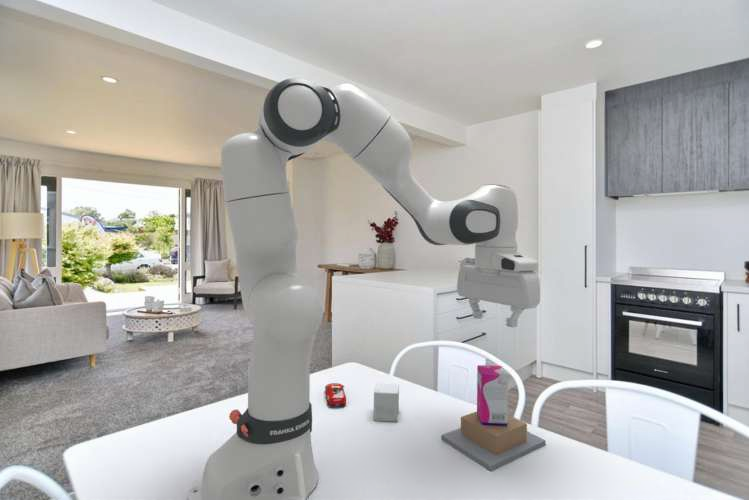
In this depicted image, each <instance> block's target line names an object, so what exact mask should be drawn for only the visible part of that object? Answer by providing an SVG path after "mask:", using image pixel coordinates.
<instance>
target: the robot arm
mask: <svg viewBox="0 0 749 500" xmlns="http://www.w3.org/2000/svg"><path fill="white" fill-rule="evenodd" d="M261 106H262V107H261V109H260V114H259V119H258V123H257V128H255V130H252V131H251V132H243V133H240V134H236V135H234V136H232V137H230V138H229V139H227V140H226V141H225V142H224V143H223V146H222V148H221V149H220V150H221V152H220V155H221V156H220V166H221V167H220V169H221V170H220V171H221V182H222V183H221V184H222V189H223V195H224V201H225V206H226V211H227V216H228V221H229V226H230V230H231V235H232V239H233V244H234V245H233V246H234V249H235V250H234V251H235V258H236V259H235V260H236V269H237V275H238V277H237V278H238V283H239V284H238V285H239V289H240V295H241V301H242V308H243V310H244V312H245V314H246V315H247V317H248V318H249V319H250V320H251V322H252V323H251V324H252V341H251V342H252V343H251V352H250V358H249V363H248V367H247V408H246V409H245V410H244V412H243V413H241V411H239V409H233V410H231V411H230V413H229V415H228V418H229V420H230V421H231V423H232V424H233V425H236V432H235V433H234V434H233V435H232V436H230V438H228V439H227V440H226V441H225V442H224V443H223V444H222V445H221V446H220V447H219V448H217V449H216V450H215V451H214V452H213V453H212V454H210V455H209V456H208V459H207V460H206V462H205V466H204V470H203V473H202V478H200V479H198V480H196V481H195V482H194V483H193V484H192V486H191V488H190V490H189V492H188V497H187V500H307V498H308V496H309V495H310V494H311V493H312V492H313V491H314V490H315V488H316V486H317V484H318V482H319V472H318V470H317V468H316V464H315V459H314V453H313V447H312V439H311V438H312V436H311V433H312V432H313V431H312V430H313V407H312V403H311V401H310V397H311V396H310V393H311V392H310V390H311V389H310V388H311V387H310V386H311V384H310V383H311V381H310V379H311V377H310V370H311V360H312V353H313V349H314V343H315V338H316V335H317V334H316V333H317V332H318V330H319V328H320V326H321V324H322V321H323V318H324V307H323V303H322V300H321V298H320V297H319V295H318V293H317V291H315V288H314V287H312V285H311V284H310V283H309V282H307V281H305V280H303V279H301V278H299V276H298V272H297V271H298V270H297V242H298V231H297V226H296V224H297V223H296V220H295V214H294V210H293V203H292V199H291V194H290V193H291V192H290V188H289V183H288V179H287V163H288V161H291V160H294V159H296V158H298V157H300V156H303V154H305V153H306V152H308V151H310V150H311V149H314V147H315V146H316V145H317V144H318V143H319V142H322V141H324V142H325V141H326V142H329V143H332V144H334V145H336V146H337V147H339V148H340V149H342V150H343V152H344V153H346V155H348V156H349V158H351V159H352V161H354V162H355V163H356V164H357V165H359V166H360V167H361V168H362V169H363V170H364V171H365V172H366V173H368V174H369V175H370V176H371V177H372V178H373V179H375V180H376V181H377V182H378V183H379V185H380V186H381V187H382V188H383V189H384V190H385V191H386V193H388V194H389V196H391V197H392V198H393V200H395V201H396V202H397V203H398V204H399V206H401V208H402V209H403V210H404V211H406V213H407V214H408V215H409V216H410V217H411V219H412V220H413V221H414V223H415V225H416V227H417V229H418V231H419V233H420V235H421V236H422V238H423V239H424V240H425V241H426V242H427V243H429V244H431V245H434V246H445V245H449V246H450V245H452V246H453V245H454V246H471V245H474V258H472V257H464V259H463V260H461V262H460V264H459V270H458V274H457V275H458V276H457V283H456V284H457V285H456V292H457V295H458V296H459V297H463V298H468V304H469V306H470V308H471V311H472V318H474V319H477V320H480V319H482V318H483V317H484V315H483V314H484V311H483V310H481V308H480V305H479V303H480V302H481V301H483V302H488V303H489V302H490V303H494V304H499V305H505V306H510V311H511V312H512V313H511V315H510V317H507V318H505V319H506V320H505V321H506V326H507V327H509V328H517V327H518V321H519V320H518V319H519V318H520V316H521V314H522V313H523V312H524V309H525V310H530V309H536V308H537V307H538V306H539V304H540V303H541V281H540V277H539V275H538V273H537V272H536V271H537V270H538V269H539V261H537V260H536V259H535V258H532V257H529V256H527V255H526V254H525V255H524V254H522V253H520V251H519V252H518V243H517V239H516V233H517V231H518V227H519V211H518V210H519V209H518V208H519V207H518V199H517V195H516V193H515V190H513V189H512V188H510V187H508V186H505V185H501V184H494V183H493V184H490V183H489V184H484V185H481V186H480V187H479V189H477V190H476V191H475V192H473V193H470V194H469V195H466V196H464V197H461V198H459V199H454V200H448V201H442V200H439V199H436V198H434V197H432V196H431V195H430V194H429V193H428V192H427V191H426V189H424V187H423V186H422V185H421V184H420V183H419V181H417V179H416V178H414V176H413V174H411V172H410V168H409V164H410V161H411V160H412V159H411V158H412V156H413V155H412V154H413V143H412V139H411V137H410V135H409V134H408V131H406V129H405V127H404V126H403V125H402V124H401V123H400V122H399V121H398V120H397V118H395V117H394V116H393V115H392V114H391V113H390V112H389V111H388V110H387V109H386V108H385V107H384V106H382V104H380V103H379V102H378V101H376V99H374V98H373V97H371V96H370V95H369V94H367V93H366V92H365V91H363V90H362V89H360V88H358V87H357V86H355V85H354V84H352V83H341V84H338V85H336V86H335V85H334V87H332V88H331V89H330V88H328V87H325V86H322V85H317V84H316V83H314V82H312V81H309V80H308V79H307V80H306V79H302V78H298V77H297V78H296V77H294V78H292V77H291V78H286V79H284V80H281V81H280V82H278V83H276V84H275V85H274V86H273V87H271V89H270V90H269V92H268V93H267V95H266V96H265V99H264V102H263V105H261Z"/></svg>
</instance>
